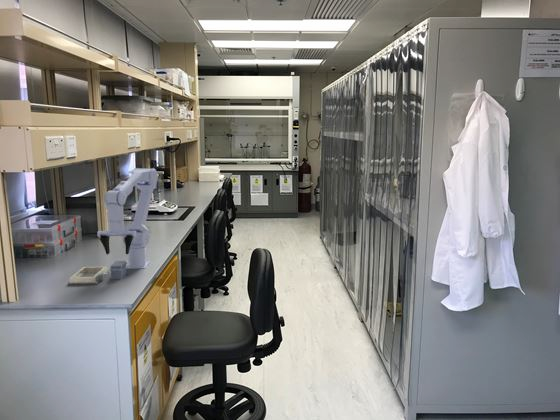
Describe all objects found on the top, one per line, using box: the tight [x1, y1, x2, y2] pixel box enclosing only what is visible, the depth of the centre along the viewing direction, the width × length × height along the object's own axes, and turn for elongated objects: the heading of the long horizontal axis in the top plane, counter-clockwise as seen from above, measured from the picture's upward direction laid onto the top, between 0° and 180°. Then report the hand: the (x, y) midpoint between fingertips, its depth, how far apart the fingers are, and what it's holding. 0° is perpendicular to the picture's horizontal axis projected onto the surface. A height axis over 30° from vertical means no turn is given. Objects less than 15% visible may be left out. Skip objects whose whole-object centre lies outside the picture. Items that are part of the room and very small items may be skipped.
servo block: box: [109, 260, 128, 280], centre depth 179 cm, size 10×4×6 cm, turn 4°
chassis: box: [67, 266, 110, 286], centre depth 176 cm, size 15×12×3 cm
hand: (117, 253), depth 178 cm, fingers open, 7 cm apart
